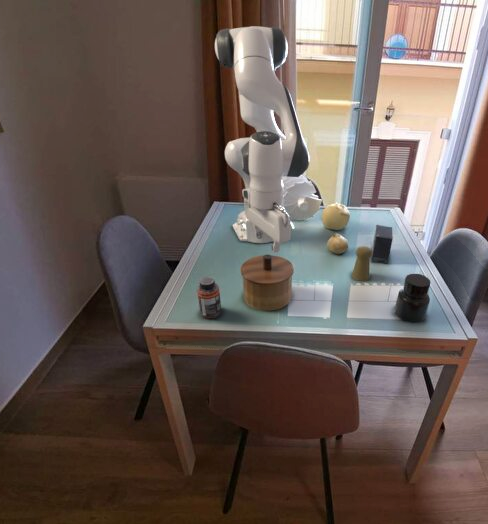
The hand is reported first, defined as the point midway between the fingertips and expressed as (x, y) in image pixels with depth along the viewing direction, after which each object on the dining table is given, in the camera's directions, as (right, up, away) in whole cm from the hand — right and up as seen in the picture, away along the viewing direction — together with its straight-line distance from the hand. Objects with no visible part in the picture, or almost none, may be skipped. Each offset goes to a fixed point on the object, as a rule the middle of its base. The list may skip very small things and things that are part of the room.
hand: (267, 244), depth 101 cm
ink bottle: (+42, -21, +5) cm, 47 cm away
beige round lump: (+24, +10, +55) cm, 61 cm away
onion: (+23, -1, +36) cm, 43 cm away
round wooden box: (-1, -16, +9) cm, 18 cm away
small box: (+39, -3, +34) cm, 52 cm away
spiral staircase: (+7, +18, +68) cm, 71 cm away
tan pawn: (+30, -10, +21) cm, 38 cm away
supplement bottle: (-16, -20, +1) cm, 26 cm away
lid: (0, -7, +5) cm, 9 cm away
